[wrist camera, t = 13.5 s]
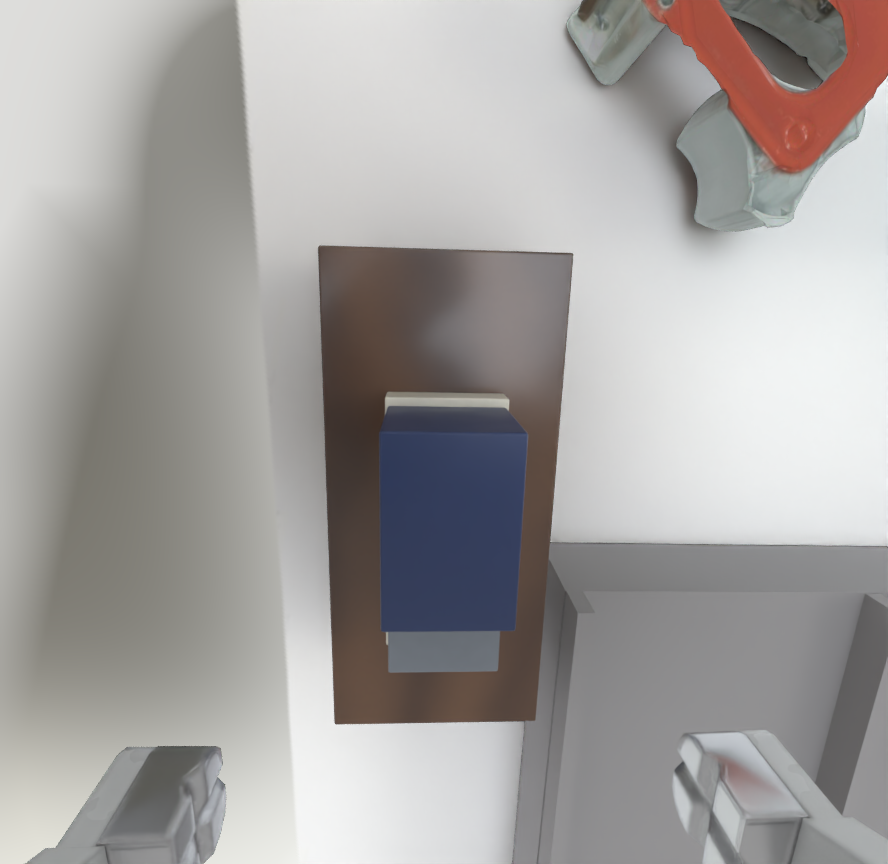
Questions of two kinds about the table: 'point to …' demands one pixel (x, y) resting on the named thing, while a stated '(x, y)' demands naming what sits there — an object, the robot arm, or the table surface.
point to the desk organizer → (698, 686)
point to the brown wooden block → (442, 371)
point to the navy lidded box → (449, 528)
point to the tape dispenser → (752, 91)
